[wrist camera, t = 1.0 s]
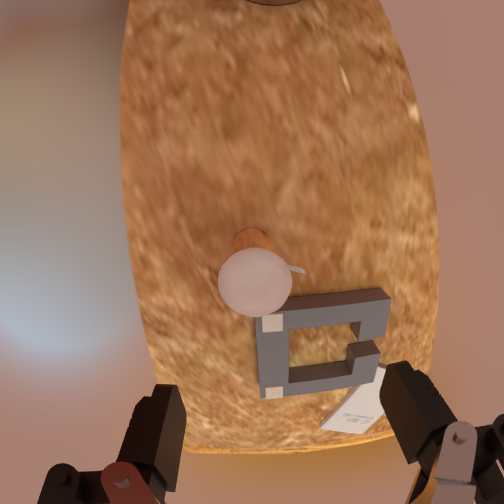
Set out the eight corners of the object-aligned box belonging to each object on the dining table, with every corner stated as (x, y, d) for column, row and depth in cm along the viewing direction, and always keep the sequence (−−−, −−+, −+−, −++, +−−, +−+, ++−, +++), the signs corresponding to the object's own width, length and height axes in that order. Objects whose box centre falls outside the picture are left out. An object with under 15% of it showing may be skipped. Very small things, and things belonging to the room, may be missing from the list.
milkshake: (294, 250, 25) (322, 303, 16) (242, 278, 26) (242, 343, 17) (270, 206, 24) (287, 236, 15) (216, 236, 25) (199, 284, 15)
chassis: (253, 299, 27) (254, 314, 24) (380, 287, 27) (392, 300, 24) (259, 382, 30) (260, 400, 28) (366, 368, 30) (374, 383, 28)
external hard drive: (412, 370, 32) (360, 427, 35) (372, 358, 31) (318, 421, 34) (417, 377, 30) (363, 434, 34) (377, 366, 29) (320, 429, 32)
